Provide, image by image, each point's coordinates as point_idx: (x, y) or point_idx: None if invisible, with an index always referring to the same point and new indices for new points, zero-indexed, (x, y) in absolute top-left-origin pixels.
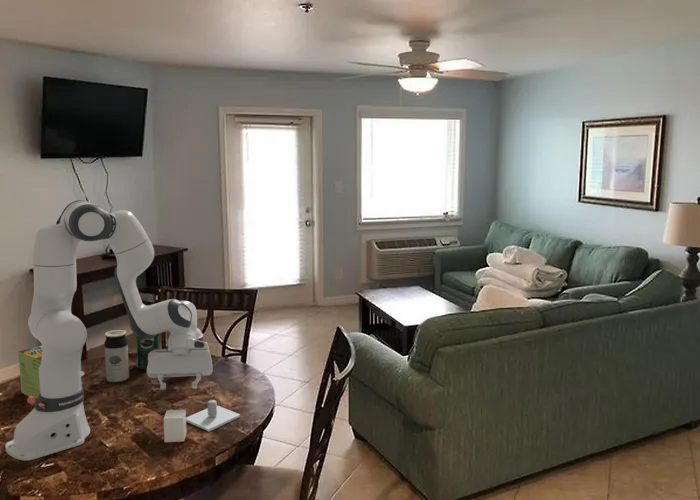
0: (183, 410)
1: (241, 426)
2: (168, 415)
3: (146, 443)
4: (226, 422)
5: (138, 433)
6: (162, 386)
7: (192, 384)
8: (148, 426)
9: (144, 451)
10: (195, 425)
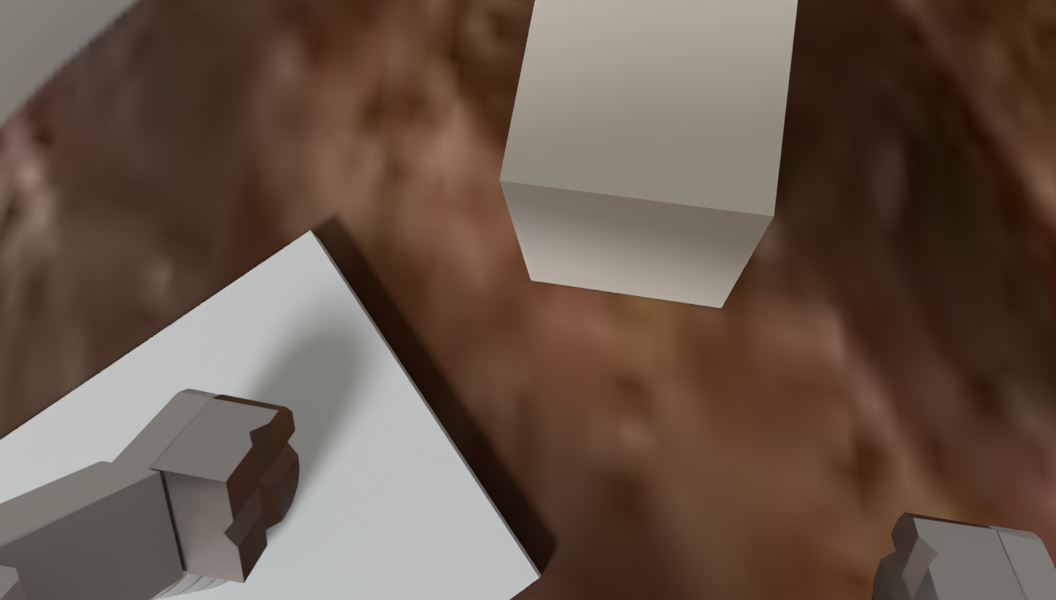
0: (531, 155)
1: (11, 268)
2: (739, 48)
3: (918, 153)
4: (117, 370)
5: (1042, 393)
6: (993, 545)
7: (246, 430)
8: None
9: (916, 13)
10: (429, 408)
